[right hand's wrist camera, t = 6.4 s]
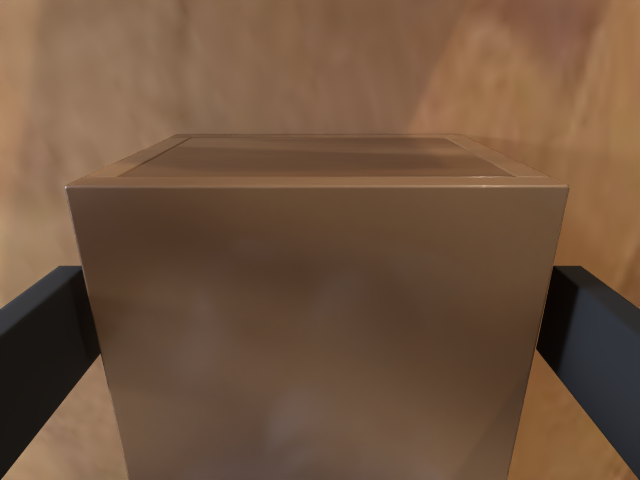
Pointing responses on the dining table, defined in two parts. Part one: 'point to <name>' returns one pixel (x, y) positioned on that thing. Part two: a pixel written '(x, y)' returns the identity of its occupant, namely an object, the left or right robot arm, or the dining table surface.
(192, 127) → the dining table surface
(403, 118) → the dining table surface
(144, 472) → the cabinet
